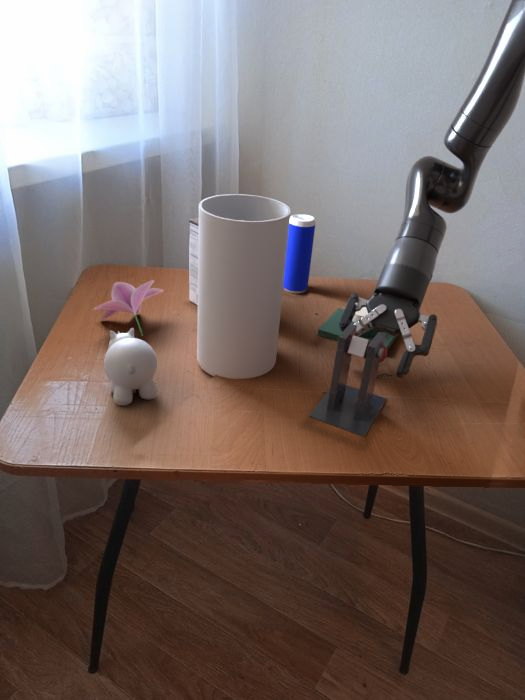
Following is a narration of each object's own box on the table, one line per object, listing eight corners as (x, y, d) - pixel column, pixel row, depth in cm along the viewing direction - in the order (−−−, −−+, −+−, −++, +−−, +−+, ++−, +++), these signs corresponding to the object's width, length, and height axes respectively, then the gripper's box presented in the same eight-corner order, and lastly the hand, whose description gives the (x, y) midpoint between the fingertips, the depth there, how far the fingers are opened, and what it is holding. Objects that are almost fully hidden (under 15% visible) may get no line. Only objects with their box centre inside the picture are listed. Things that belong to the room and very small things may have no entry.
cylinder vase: (254, 393, 82) (267, 228, 69) (181, 369, 86) (181, 209, 74) (287, 355, 92) (303, 204, 79) (220, 335, 96) (226, 189, 83)
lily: (175, 321, 102) (157, 270, 100) (173, 327, 90) (152, 270, 88) (112, 342, 101) (93, 291, 99) (101, 351, 89) (79, 294, 88)
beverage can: (311, 288, 116) (320, 217, 108) (300, 296, 112) (308, 223, 104) (289, 281, 118) (296, 211, 110) (277, 289, 114) (284, 217, 106)
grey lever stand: (334, 387, 85) (346, 312, 78) (385, 405, 82) (402, 328, 76) (308, 422, 77) (319, 342, 71) (363, 442, 74) (380, 361, 68)
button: (376, 318, 98) (378, 309, 97) (369, 327, 95) (371, 318, 94) (354, 312, 99) (356, 303, 98) (347, 321, 96) (348, 312, 95)
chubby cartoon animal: (145, 359, 88) (143, 311, 84) (163, 403, 79) (162, 351, 74) (98, 366, 85) (93, 316, 81) (111, 411, 76) (106, 358, 72)
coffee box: (225, 289, 112) (228, 210, 104) (246, 300, 108) (251, 220, 100) (187, 300, 107) (188, 218, 99) (208, 313, 103) (210, 228, 95)
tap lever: (362, 360, 87) (369, 338, 86) (384, 367, 85) (391, 345, 85) (340, 355, 73) (349, 329, 73) (366, 363, 72) (375, 337, 72)
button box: (399, 336, 101) (403, 316, 99) (382, 360, 93) (387, 339, 91) (337, 318, 105) (340, 298, 103) (316, 340, 97) (319, 319, 95)
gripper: (360, 252, 87) (324, 346, 84) (452, 274, 82) (417, 375, 79) (366, 273, 94) (332, 361, 91) (451, 294, 89) (418, 388, 86)
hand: (371, 367), depth 85 cm, fingers open, 8 cm apart
